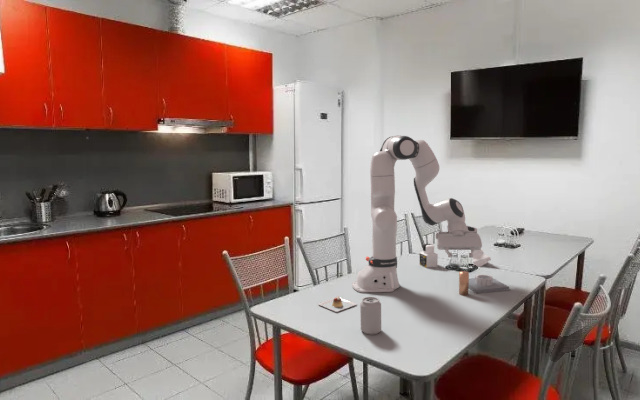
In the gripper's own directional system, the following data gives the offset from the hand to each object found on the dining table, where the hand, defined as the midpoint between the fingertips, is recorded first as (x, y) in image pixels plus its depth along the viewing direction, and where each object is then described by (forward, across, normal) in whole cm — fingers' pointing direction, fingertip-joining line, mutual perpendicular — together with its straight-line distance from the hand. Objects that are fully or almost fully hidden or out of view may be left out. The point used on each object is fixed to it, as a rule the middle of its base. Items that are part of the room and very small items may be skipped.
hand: (460, 256), depth 195 cm
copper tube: (+17, 0, +3) cm, 17 cm away
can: (+47, -39, -27) cm, 67 cm away
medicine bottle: (-14, -12, +34) cm, 38 cm away
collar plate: (+9, +11, +11) cm, 18 cm away
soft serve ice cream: (-18, +14, +38) cm, 44 cm away
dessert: (+30, -54, -10) cm, 63 cm away
